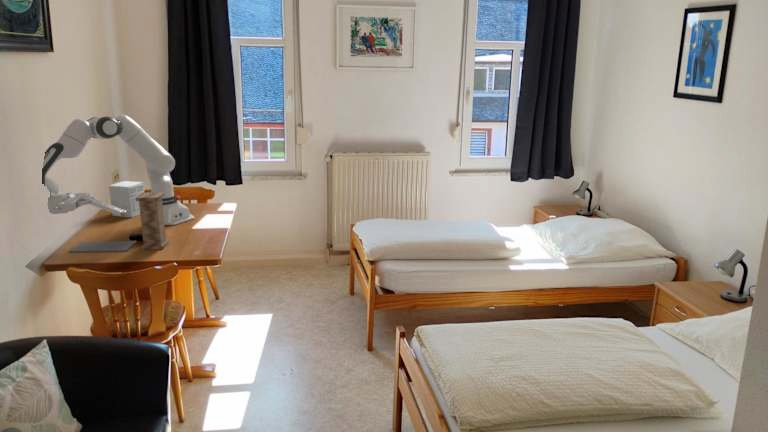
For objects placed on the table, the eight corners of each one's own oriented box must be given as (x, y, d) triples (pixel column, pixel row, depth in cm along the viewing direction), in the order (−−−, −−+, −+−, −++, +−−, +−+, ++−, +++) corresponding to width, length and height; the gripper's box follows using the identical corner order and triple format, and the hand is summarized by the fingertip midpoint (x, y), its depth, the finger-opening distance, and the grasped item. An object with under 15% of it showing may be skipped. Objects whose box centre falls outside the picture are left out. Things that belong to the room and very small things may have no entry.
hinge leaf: (79, 200, 281) (80, 195, 280) (82, 198, 285) (84, 193, 284) (124, 217, 284) (125, 213, 284) (127, 215, 288) (128, 210, 288)
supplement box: (147, 211, 351) (143, 181, 346) (132, 217, 338) (128, 187, 334) (127, 210, 354) (123, 180, 349) (111, 216, 342) (108, 185, 337)
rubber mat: (69, 252, 282) (69, 251, 282) (81, 242, 296) (81, 241, 295) (126, 251, 284) (126, 250, 284) (136, 241, 297) (136, 240, 297)
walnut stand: (141, 249, 286) (135, 197, 279) (147, 242, 296) (142, 192, 289) (163, 249, 287) (157, 197, 280) (169, 242, 296) (164, 192, 289)
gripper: (49, 203, 272) (80, 199, 272) (69, 192, 292) (98, 188, 292) (53, 216, 274) (84, 212, 274) (73, 204, 293) (101, 201, 294)
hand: (91, 200), depth 283 cm, fingers closed on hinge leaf, 4 cm apart
